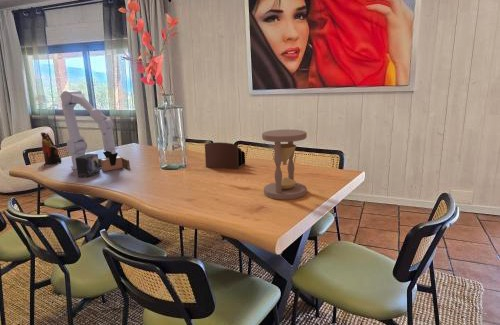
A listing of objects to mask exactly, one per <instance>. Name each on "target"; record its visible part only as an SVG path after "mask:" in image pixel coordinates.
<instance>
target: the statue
mask: <svg viewBox="0 0 500 325" xmlns="http://www.w3.org/2000/svg"><path fill="white" fill-rule="evenodd" d="M40 136H41V137H42V138H41V146H42V153H43V157H44V158H43V159H44V163H45V164H47V165H55V164H60V163H62V158H61V157H60V155H59V149H58V147H57V146H56V145H55V144H54V141H53V140H52V138H51V137H50V135H49V133H48V132H43V131H42V132H40Z"/></svg>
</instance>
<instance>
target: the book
mask: <svg viewBox="0 0 500 325" xmlns="http://www.w3.org/2000/svg"><path fill="white" fill-rule="evenodd" d="M120 156H121V155H117V157H116V165H113V166H111V163H110V160H109V158H106V157H103V158H104V159H101V158H100V159H101V165H102V167H101V169H102V171H104V172H107V171H111V170H112V171H113V170H117V169H123V168H124V167H123V164H122V157H123V156H122V157H120Z"/></svg>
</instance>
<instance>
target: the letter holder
mask: <svg viewBox="0 0 500 325" xmlns="http://www.w3.org/2000/svg"><path fill="white" fill-rule="evenodd" d="M245 153H246V152H245V151H243V150H242V149H241V148H240V147H239V146H238V144H236V143H229V142H209V143H205V144H204V156H205V158H204V159H205V168H213V169H228V170H229V169H231V170H232V169H233V170H239V169H241V168H242V167H244V166H246V154H245Z"/></svg>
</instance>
